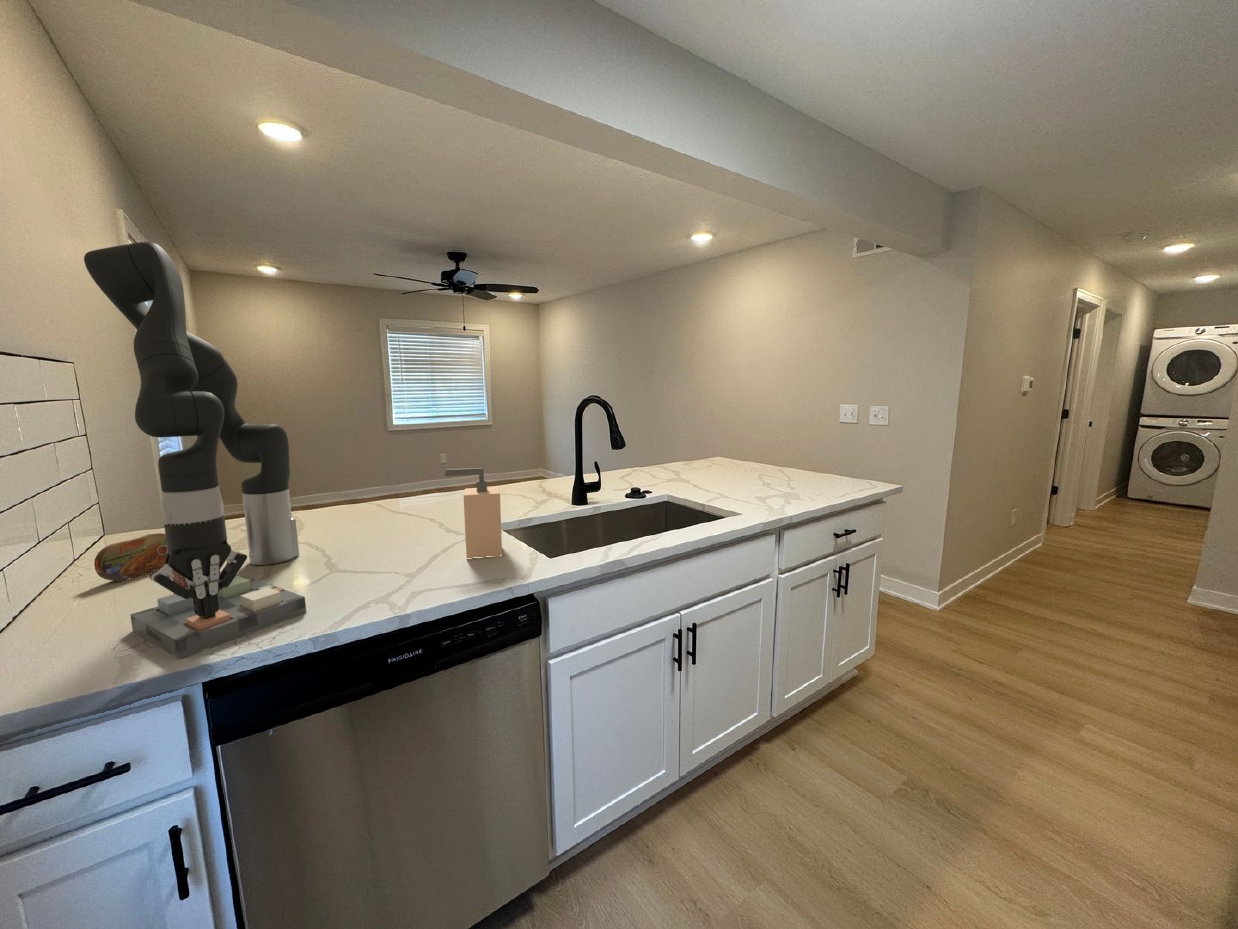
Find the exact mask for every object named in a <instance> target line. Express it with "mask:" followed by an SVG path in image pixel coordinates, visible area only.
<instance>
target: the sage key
mask: <svg viewBox="0 0 1238 929" xmlns="http://www.w3.org/2000/svg"><path fill="white" fill-rule="evenodd" d="M248 591H251V588H250V579H247V578H244V577H241V576H237V575H236V576H235V578H234V579H233V581H232V582H231V584H230V585H229V586H228V587H226V588H223V589H221V590H220V591H219V592H218V593H217V597H219V598H221V599H225V598H228V597H231V596H235V595H238V594H241V593H244V592H248Z"/></svg>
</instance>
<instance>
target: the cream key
mask: <svg viewBox="0 0 1238 929" xmlns="http://www.w3.org/2000/svg"><path fill="white" fill-rule="evenodd" d="M241 603H242V608H244V609H247V610H249V611H251V612H255V611H258V610H261V609H264V608H267V607H270V606H273V605H275V604H278V603H281V594H280V592H279V591H277V590H274V589H271V588H269V587H266V588H263V589H260V590H257V591H253V592H250V593H247V594H244V595H241Z"/></svg>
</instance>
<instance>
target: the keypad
mask: <svg viewBox="0 0 1238 929" xmlns="http://www.w3.org/2000/svg"><path fill="white" fill-rule="evenodd" d="M249 580H250V588H251V591H248V592H244V593H241V594H238V595H235V596H231V597H228V598H225V599H221V598H219V597H218V605H219V610H221V611H224V612H226V613H228V614H230V620H229V621H226V622H223V623H220V624H217V625H214V626H211V627H208V628H205V629H202V630H199V631H195V630H193V629H191V628H189V627H187V623H186V619H187V618H190V617H193V616H196V614H195V612H194V608H192V609H189V610H186V611H182V612H179V613H176V614H173V615H169V616H166V615H164V614H163V613H161V612H159V607H158V606H155V607H152V608H148V609H145V610H141V611H138V612H134V613H130V622H131V628H132V631H133V632H134V633H136V632H137V633H138V635H139V636H141V637H143V638H144V639H146V640H147V641H149V642H151V643H152V644H154V645H156V646H157V647H159V648H161V649H162V650H163V651H166V652H167V651H168V652H167V653H169V654H171V655H172V656H174V657H176V658H177V659H179V660H181V659H184V658H187V657H189V656H192V655H195V654H197V653H201V652H204V651H205V650H208V649H211V648H214V647H216V646H220V645H221V644H225V643H228V642H230V641H232V640H234V639H238V638H240V637H243V636H245V635H249V634H252V633H254V632H257V631H259V630H262V629H265V628H267V627H271V626H273V625H275V624H278V623H281V622H283V621H286V620H289V619H292V618H295V617H297V616H299V615H301V614H302V613H303V614H305V613H307V605H306V597H305V596H303V595H301V594H297V593H295V592H292V591H290V590H286V589H284V588H282V587H278V586H276V585H273V584H270V583H267V582H265V581H262V580H259V579H257V578H250V579H249ZM266 587H269V588H271V589H274V590H277V591H279V592H280V594H281V603H278V604H275V605H273V606H270V607H267V608H264V609H261V610H258V611H255V612H251V611H249V610H247V609H244V608H242V603H241V595H244V594H247V593H250V592H253V591H257V590H260V589H263V588H266ZM303 614H302V615H303ZM137 633H136V634H137Z"/></svg>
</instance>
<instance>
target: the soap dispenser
mask: <svg viewBox="0 0 1238 929" xmlns="http://www.w3.org/2000/svg"><path fill="white" fill-rule="evenodd" d="M444 472H445V473H444V475H445V477H456V476H458V477H459V476H460V477H461V476H477V475H478V479H477V480H476V482H475V483H476V487H470V488H469V487H468V488H464V491H463V509H464V512H463V514H464V515H463V516H464V535H465V537H464V538H465V555H466V558H473V557H486V556H500V555H502V556H503V542H502V539H503V538H502V537H503V536H502V516H501V514H502V511H501V510H502V509H501V491H500V487H499V486H493V487H488V483H487V481H488V480H487V479H485V478H484V476H485V475H484V474H485V473H484V467H474V468H473V467H470V468H446V469H445V471H444Z"/></svg>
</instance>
